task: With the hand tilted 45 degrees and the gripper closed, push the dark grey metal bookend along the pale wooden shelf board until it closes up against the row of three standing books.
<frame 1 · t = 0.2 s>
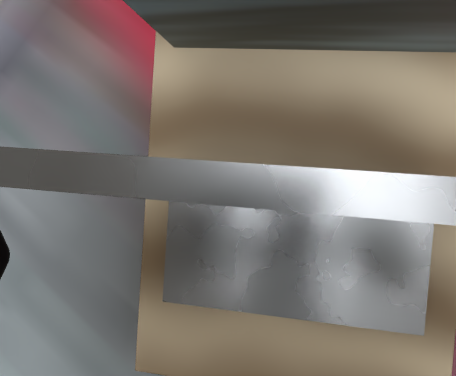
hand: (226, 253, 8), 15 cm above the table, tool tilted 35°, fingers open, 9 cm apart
book shelf: (300, 143, 22), on the table
bookend: (283, 273, 14), point 8 cm above the table, slide at 0.0 cm
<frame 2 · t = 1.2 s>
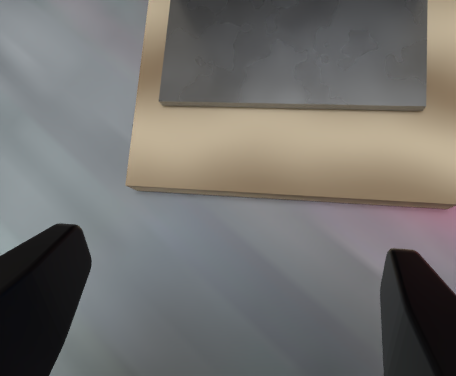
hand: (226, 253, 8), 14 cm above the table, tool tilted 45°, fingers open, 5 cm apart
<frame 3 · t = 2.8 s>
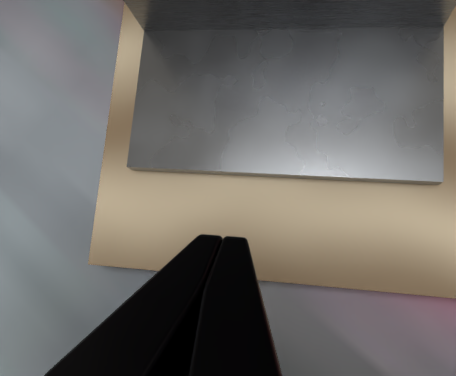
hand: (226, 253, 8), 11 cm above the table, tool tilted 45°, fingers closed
book shelf: (290, 11, 20), on the table
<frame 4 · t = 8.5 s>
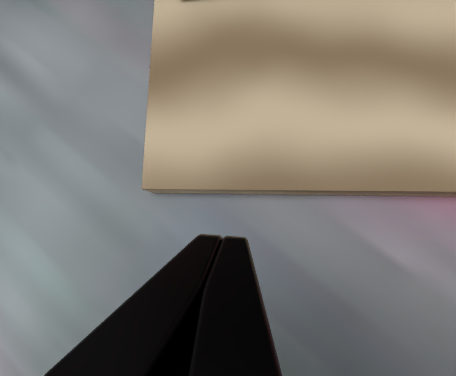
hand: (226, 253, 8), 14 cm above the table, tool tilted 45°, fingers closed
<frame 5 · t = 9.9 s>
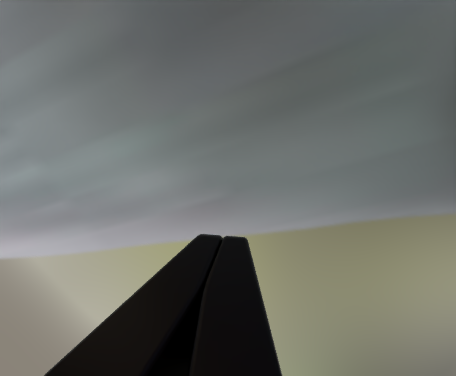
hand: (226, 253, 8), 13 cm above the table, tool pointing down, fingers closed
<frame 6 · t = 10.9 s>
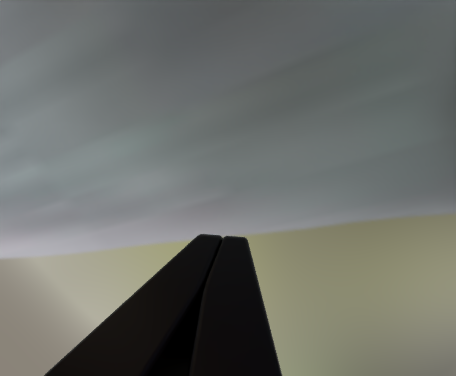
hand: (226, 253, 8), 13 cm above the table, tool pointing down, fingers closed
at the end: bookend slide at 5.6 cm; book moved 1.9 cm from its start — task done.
